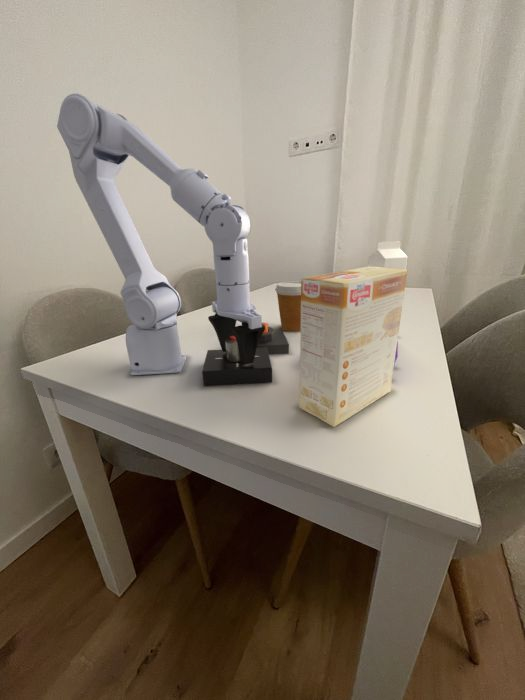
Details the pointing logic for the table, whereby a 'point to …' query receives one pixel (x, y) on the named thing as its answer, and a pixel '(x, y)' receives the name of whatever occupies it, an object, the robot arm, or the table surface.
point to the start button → (265, 327)
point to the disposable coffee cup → (289, 305)
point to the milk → (388, 256)
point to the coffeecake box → (348, 339)
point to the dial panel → (236, 369)
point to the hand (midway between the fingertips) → (237, 356)
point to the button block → (274, 342)
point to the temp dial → (232, 350)
